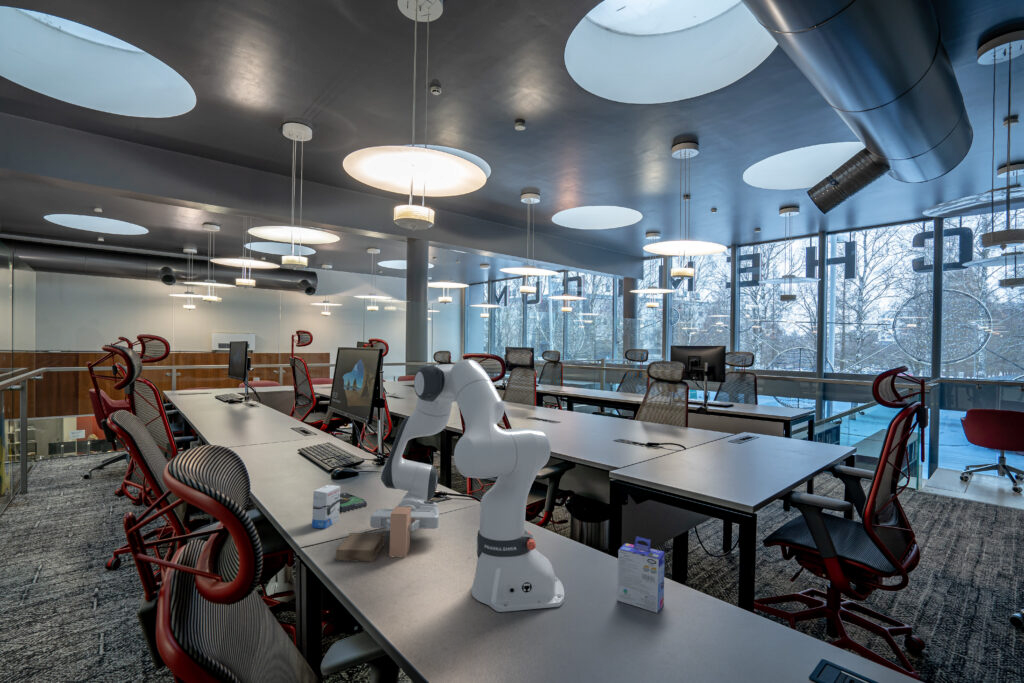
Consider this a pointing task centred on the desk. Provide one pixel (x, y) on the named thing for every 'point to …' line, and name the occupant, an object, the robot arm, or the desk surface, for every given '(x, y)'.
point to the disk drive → (350, 502)
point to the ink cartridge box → (641, 575)
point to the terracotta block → (400, 531)
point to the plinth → (360, 547)
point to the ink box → (326, 506)
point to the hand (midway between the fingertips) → (400, 528)
